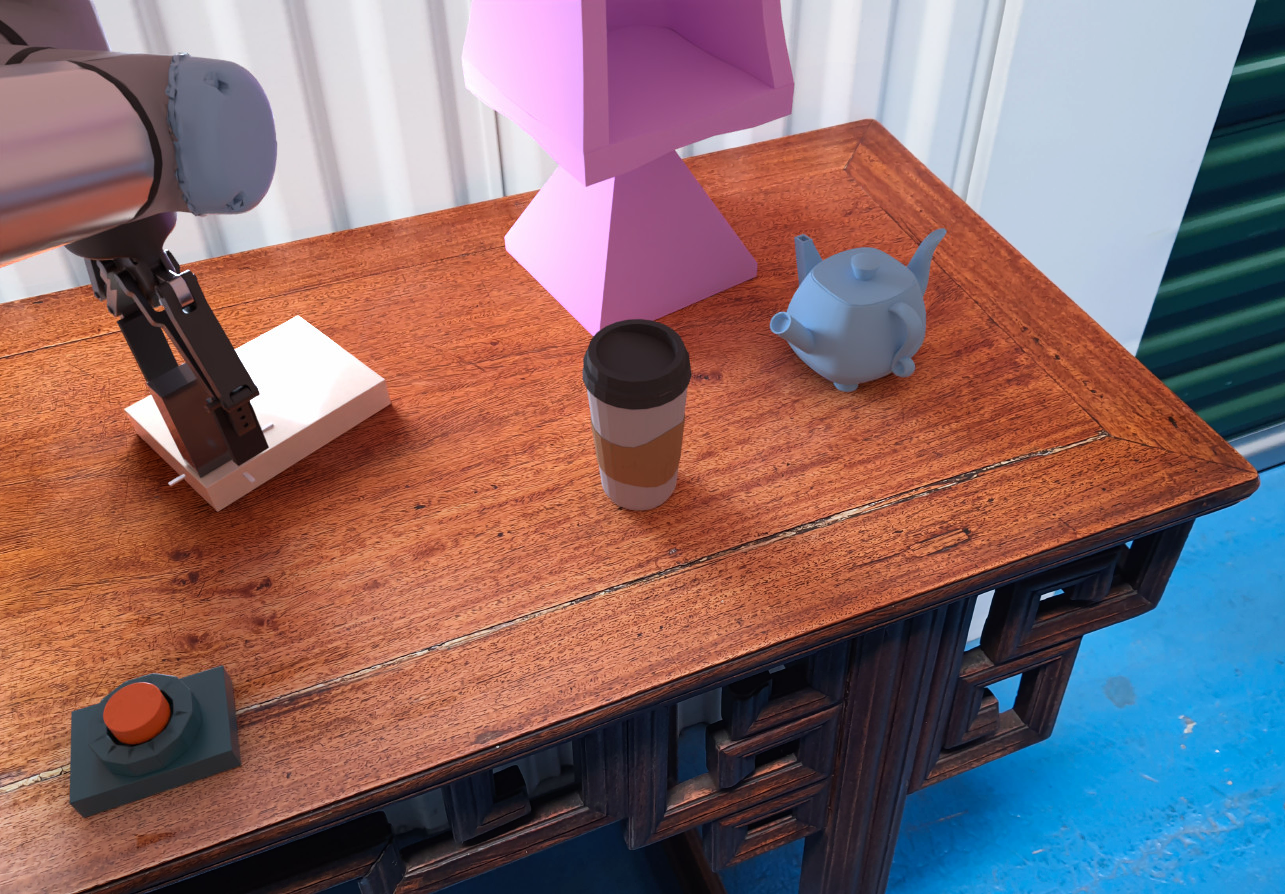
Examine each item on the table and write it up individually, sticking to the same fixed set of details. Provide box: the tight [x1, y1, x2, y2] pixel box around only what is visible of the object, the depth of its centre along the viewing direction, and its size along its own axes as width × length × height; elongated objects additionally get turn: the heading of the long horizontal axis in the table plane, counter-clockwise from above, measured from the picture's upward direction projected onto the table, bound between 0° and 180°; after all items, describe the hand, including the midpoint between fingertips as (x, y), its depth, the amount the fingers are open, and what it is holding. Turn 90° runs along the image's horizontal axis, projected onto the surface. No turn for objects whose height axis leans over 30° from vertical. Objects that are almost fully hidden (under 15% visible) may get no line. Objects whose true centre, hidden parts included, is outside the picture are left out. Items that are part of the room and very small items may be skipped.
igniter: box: [68, 664, 242, 819], centre depth 67 cm, size 10×7×4 cm
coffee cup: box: [582, 319, 693, 512], centre depth 79 cm, size 8×8×15 cm
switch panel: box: [123, 315, 392, 513], centre depth 89 cm, size 20×16×3 cm
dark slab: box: [145, 361, 232, 478], centre depth 80 cm, size 6×2×9 cm, turn 137°
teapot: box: [769, 227, 947, 393], centre depth 92 cm, size 15×14×11 cm
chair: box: [461, 0, 796, 338], centre depth 91 cm, size 22×22×45 cm
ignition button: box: [103, 682, 171, 745], centre depth 65 cm, size 4×4×2 cm
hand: (206, 414), depth 80 cm, fingers open, 13 cm apart
